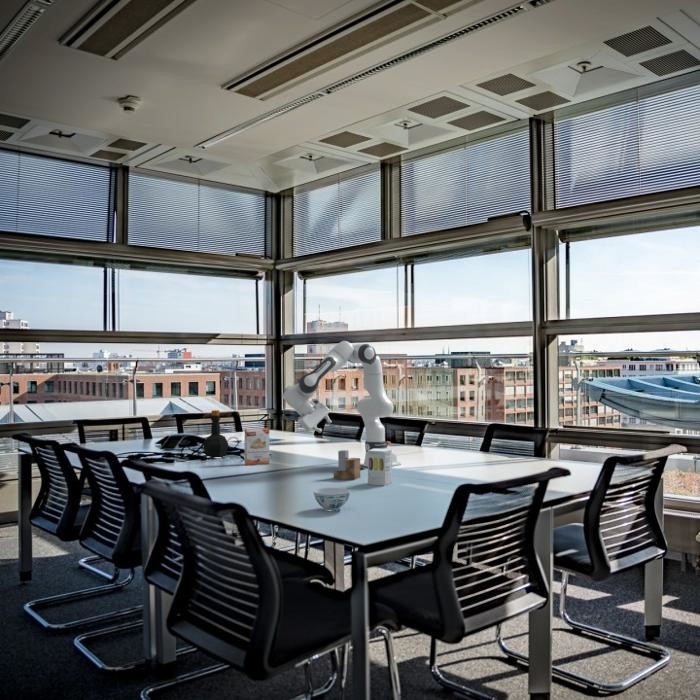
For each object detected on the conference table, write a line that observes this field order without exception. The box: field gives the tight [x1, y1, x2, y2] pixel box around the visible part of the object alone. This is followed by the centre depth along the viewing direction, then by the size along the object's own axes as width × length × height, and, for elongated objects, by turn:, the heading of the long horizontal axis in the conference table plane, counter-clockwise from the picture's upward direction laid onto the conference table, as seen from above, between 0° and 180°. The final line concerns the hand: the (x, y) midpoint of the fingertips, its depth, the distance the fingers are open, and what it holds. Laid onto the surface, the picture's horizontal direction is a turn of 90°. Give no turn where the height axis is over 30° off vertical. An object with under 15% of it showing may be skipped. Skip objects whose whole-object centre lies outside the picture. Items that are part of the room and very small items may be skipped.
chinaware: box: [313, 486, 351, 511], centre depth 291 cm, size 15×15×8 cm
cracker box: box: [244, 428, 270, 466], centre depth 422 cm, size 14×6×21 cm, turn 112°
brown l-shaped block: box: [333, 457, 361, 481], centre depth 368 cm, size 12×8×10 cm
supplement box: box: [367, 448, 393, 487], centre depth 350 cm, size 10×9×17 cm
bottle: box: [203, 409, 229, 457], centre depth 453 cm, size 16×16×30 cm
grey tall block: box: [337, 449, 350, 472], centre depth 369 cm, size 4×4×14 cm
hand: (326, 427), depth 381 cm, fingers open, 8 cm apart
